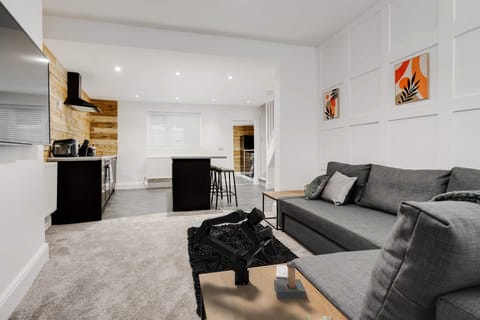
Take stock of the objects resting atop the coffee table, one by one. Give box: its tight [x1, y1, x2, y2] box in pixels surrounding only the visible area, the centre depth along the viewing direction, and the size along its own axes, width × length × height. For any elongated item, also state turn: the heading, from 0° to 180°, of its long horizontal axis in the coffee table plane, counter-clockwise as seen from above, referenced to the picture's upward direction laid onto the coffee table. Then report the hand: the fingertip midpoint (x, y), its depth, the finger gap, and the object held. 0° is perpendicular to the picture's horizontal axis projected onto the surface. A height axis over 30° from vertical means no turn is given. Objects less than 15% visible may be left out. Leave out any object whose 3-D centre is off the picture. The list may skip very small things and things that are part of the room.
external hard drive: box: [275, 264, 288, 280], centre depth 124 cm, size 2×8×12 cm
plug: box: [286, 261, 297, 289], centre depth 105 cm, size 4×4×13 cm
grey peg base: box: [273, 278, 307, 300], centre depth 106 cm, size 12×10×3 cm
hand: (273, 259), depth 108 cm, fingers open, 9 cm apart
